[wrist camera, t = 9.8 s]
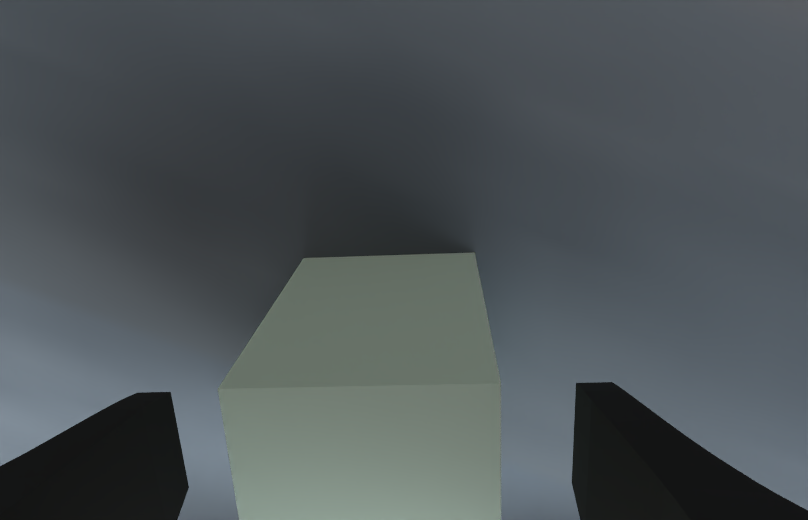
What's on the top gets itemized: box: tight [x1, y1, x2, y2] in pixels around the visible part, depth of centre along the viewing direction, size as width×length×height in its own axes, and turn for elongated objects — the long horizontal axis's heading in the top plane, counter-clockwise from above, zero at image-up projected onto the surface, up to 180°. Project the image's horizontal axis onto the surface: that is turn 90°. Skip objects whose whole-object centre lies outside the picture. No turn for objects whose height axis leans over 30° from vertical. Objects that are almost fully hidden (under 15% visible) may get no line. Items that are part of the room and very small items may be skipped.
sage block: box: [218, 253, 501, 520], centre depth 12 cm, size 4×4×6 cm
